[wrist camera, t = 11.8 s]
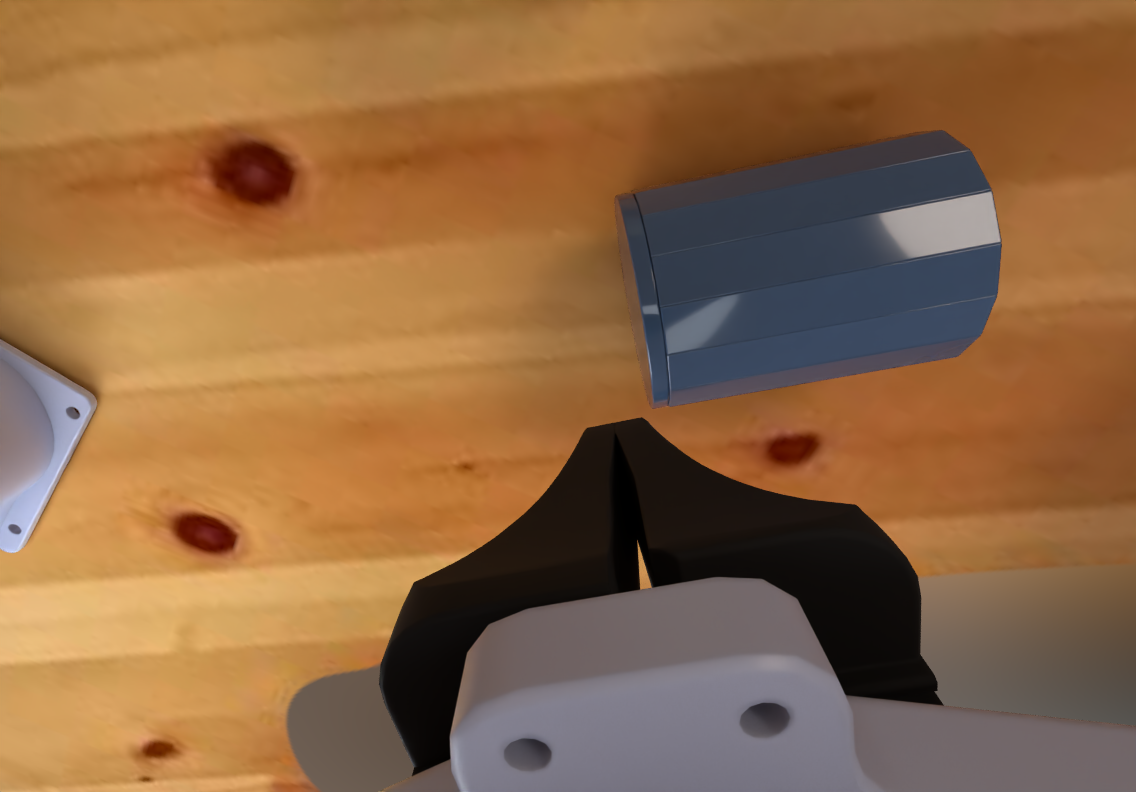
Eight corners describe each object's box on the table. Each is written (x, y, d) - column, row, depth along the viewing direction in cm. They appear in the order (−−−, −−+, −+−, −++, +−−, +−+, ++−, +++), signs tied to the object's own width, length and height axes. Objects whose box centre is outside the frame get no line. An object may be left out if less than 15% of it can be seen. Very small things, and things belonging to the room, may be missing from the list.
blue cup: (653, 437, 20) (920, 391, 20) (651, 351, 14) (1041, 280, 13) (621, 276, 23) (856, 230, 22) (607, 144, 17) (932, 76, 16)
